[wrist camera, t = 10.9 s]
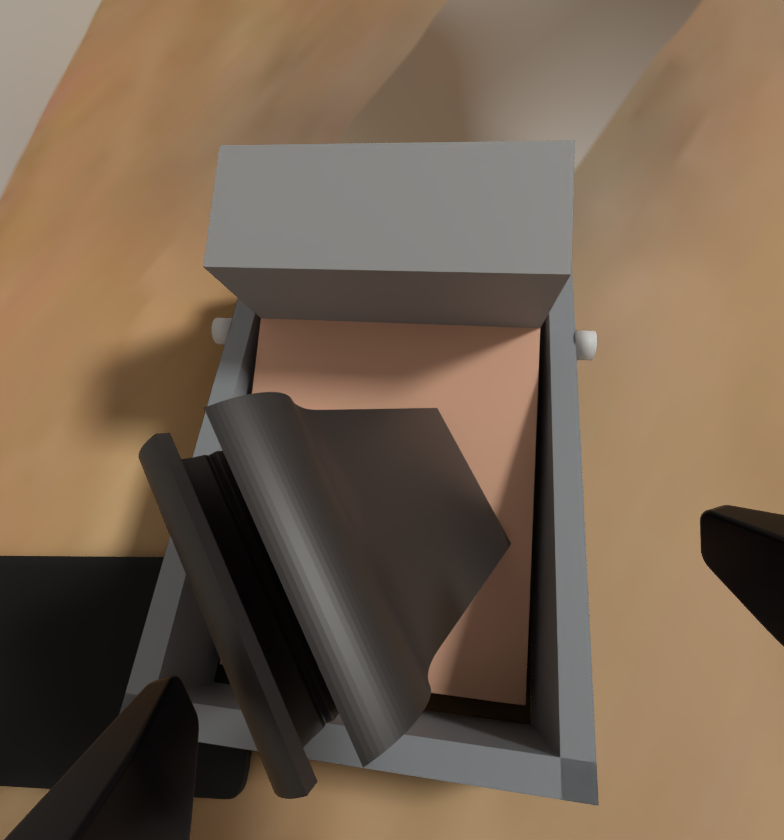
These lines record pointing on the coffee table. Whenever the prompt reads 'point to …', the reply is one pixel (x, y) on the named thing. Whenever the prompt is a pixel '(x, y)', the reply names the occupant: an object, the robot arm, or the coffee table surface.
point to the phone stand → (326, 564)
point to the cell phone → (79, 666)
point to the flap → (413, 319)
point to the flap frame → (549, 610)
